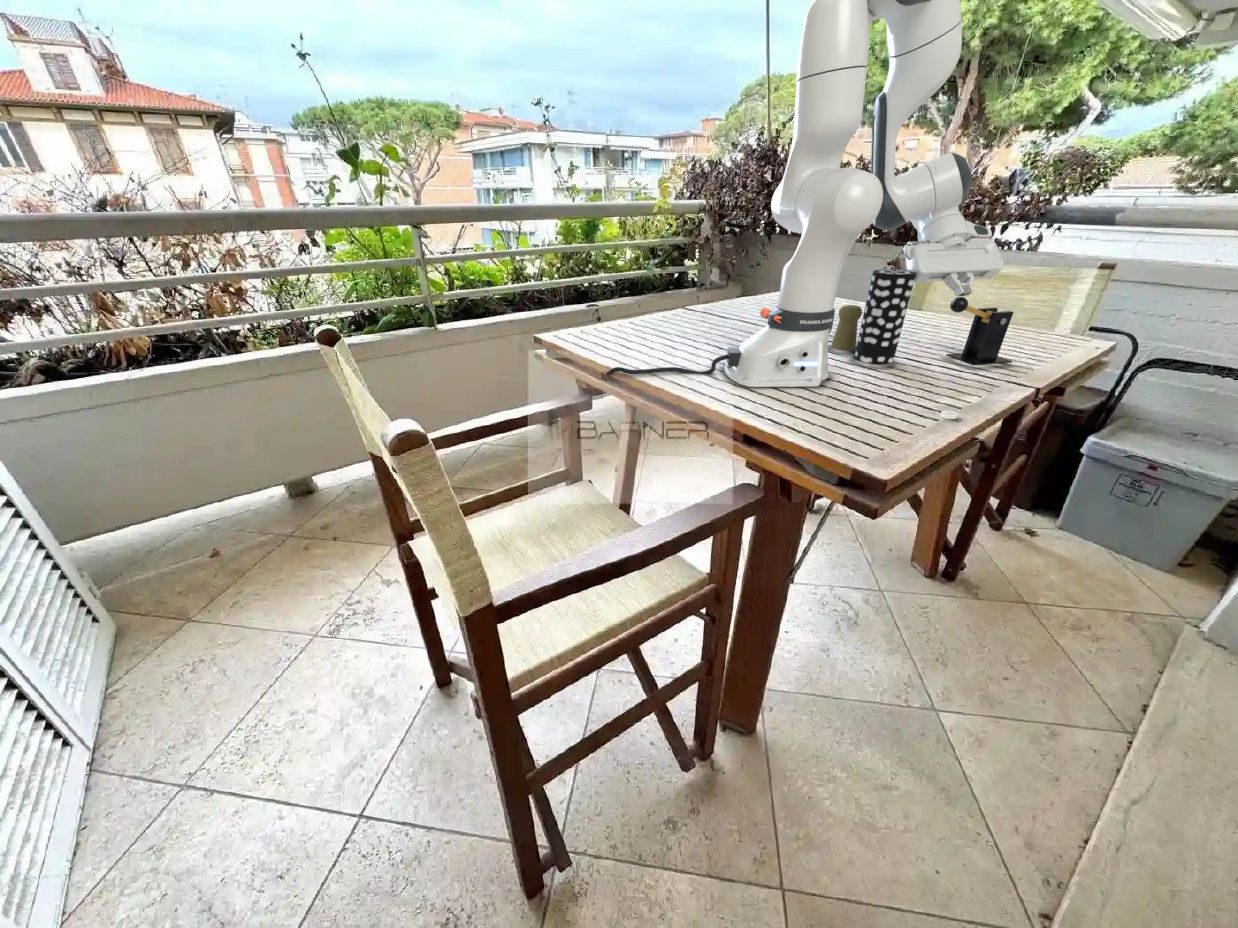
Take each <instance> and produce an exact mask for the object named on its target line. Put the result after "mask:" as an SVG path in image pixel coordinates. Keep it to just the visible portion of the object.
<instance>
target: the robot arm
mask: <svg viewBox="0 0 1238 928" xmlns="http://www.w3.org/2000/svg"><path fill="white" fill-rule="evenodd" d="M881 19H883V20H884V22H885V23H886V44H887V53H888V71H887V72H888V73H887V78H886V81H885V84H884V86H883V90H882V91H881V92H880V93H879V94H878V96H876V98H875V101H874V106H873V113H872V122H871V123H872V127H871V153H870V154H871V155H870V156H871V157H870V159H871V160H870V172H869V171H866V170H864V169H861V168H860V169H859V168H855V167H841V165H842V160H843V158H844V154H845V152H846V149H847V146H848V144H849V143H850V140H851V139H852V138H853V137H854V135H855V134H856V133H857V131H858V130H859V128H860V126H861V123H862V120H863V112H864V103H865V91H866V81H867V74H868V64H869V63H868V62H869V46H870V45H869V43H870V28H871V26H872V24H873V21H874V22H875V21H878V20H881ZM962 25H963V24H962V9H961V1H960V0H812V2H811V4H810V5H809V7H808V8H807V11H806V13H805V17H804V21H803V26H802V30H801V31H802V32H801V38H800V44H799V51H798V60H797V71H796V85H795V86H796V88H795V105H794V107H795V109H794V124H793V125H794V126H793V135H792V141H791V147H790V150H789V155H788V158H787V162H786V166H785V170H784V173H783V176H782V179H781V181H780V183H779V185H778V186H777V187H776V189H775V190H774V193H773V195H772V199H771V203H770V204H771V205H770V206H771V207H770V209H771V214H772V217H773V219H774V221H775V222H776V223H777V224H778V225H779V226H781V227H782V228H784V229H785V230H788V231H789V232H791V233H796V234H797V233H798V234H801V235H800V239H799V241H798V245H797V247H796V249H795V251H794V253H793V255H792V257H791V258H790V259H789V260H788V261H787V262H786V263H785V265H784V266H783V268H782V271H781V278H780V279H781V280H780V285H779V293H778V301H777V305H776V306H775V308H774V309H772V310H771V309H769V308H767V307H762V308H761V310H759V316H760V317H761V318H763V319H766V320H767V324H765V326H763V327H762V328H760V330H758V331H756V333H754V334H753V335H751V336H750V337H749V338H747V339H745V340H744V341H743V342H741V344H740V345H739V347H727V351H726V354H724V355H721V356H718V357H716V358H714V359H713V360H712V362H711V367H710V369H708V370H704V371H695V370H692V369H687V368H683V367H678V366H677V367H676V366H667V367H655V368H644V369H631V368H626V367H621V366H620V367H619V366H616V367H615V366H614V367H613V368H610V369H609V370H608V371H607V373H606V375H607V376H611V375H612V374H614V373H617V372H620V373H624V374H627V375H645V374H654V373H655V374H656V373H668V372H669V373H670V372H673V373H674V372H676V373H682V374H691V375H692V374H693V375H711V374H713V373H714V372H715V371H716V368H717V367H716V366H717V364H718V363H719V362H721V361H725V360H726V364H725V366H724V370H723V371H724V374H725V375H726V376H727V377H728V378H729V379H730V380H731V381H733V382H734V383H736V384H739V385H741V386H745V387H749V388H786V387H787V388H789V387H790V388H792V387H793V388H796V387H797V388H799V387H804V388H805V387H807V388H808V387H810V388H811V387H819V386H820V385H821V383H822V382H823V381H825V380H826V379H828V378H829V376H830V373H829V363H828V362H829V360H828V356H829V354H828V353H829V342H830V341H829V340H830V334H831V332H832V329H833V325H834V321H835V320H834V319H835V313H836V309H835V308H834V307H835V301H836V297H837V292H838V287H839V283H840V278H841V274H842V270H843V268H844V265H845V262H846V260H847V258H848V256H849V254H850V251H851V250H852V248H853V246H854V244H855V242H856V241H857V239H858V238H859V236H860V235H861V234H862V233H864V231H865V230H867V229H868V228H869V227H870V226H871V225H872V226H873V227H875V228H877V229H879V230H882V231H888V232H891V231H894V230H895V229H897V228H899V227H902V226H904V225H906V224H907V223H909V222H911V224H912V226H913V228H914V229H916V231H917V241H915V240H913V241H912V240H911V241H908V242H907V243H906V244H904V246H903V254H904V256H905V266H906V267H905V268H906V270H907V271H911V272H915V273H916V277H915V281H914V283H929V282H944V284H945V285H946V286H947V287H948V288H949V289H950V290H951V291H952V292H953V294H954V296H955V297H969V296H970V295H972V294H973V293H974V287H973V283H974V280H983V279H984V280H985V279H992V278H993V277H994V276H996V275H997V274H998V273H999V272H1001V271H1002V270H1003V269H1004V265H1005V263H1004V259H1003V256H1002V254H1001V251H1000V250H999V247H998V245H997V243H996V242H995V241H994V240H993V239H991V237H992V236H993V232H992V230H991V229H990V228H989V227H987V226H983V225H979V224H976V223H974V222H971V221H969V220H966V219H965V217H964V215H963V214H962V213H961V212H960V209H959V206H960V205H962V204H963V203H964V201H965V200H966V198H967V196H968V194H969V192H970V191H971V189H972V187H973V180H974V179H973V174H972V171H971V168H970V166H969V165H970V164H969V162H968V161H967V158H966V157H964V156H963V155H961V154H960V153H959V154H958V153H956V152H949V153H946V154H943V155H941V156H938V157H935V158H934V159H932V160H930V161H926V162H925V163H923V164H922V165H919V166H917V167H914V168H912V169H910V170H908V171H905V172H903V173H901V174H899V175H895V169H896V168H895V166H896V148H897V147H896V146H897V138H898V134H899V132H900V130H901V128H902V127H903V125H904V124H905V123H906V121H907V120H908V119H909V118H910V117H911V116H912V115H913V114H914V113H915V112H916V111H917V110H919V108H920V107H921V106H922V105H923V104H924V103H926V102H927V101H928V100H929V99H930V98H931V97H932V96H934V95H935V94H936V93H937V92H938V91H939V90H940V89H941V87H943V85H944V84H945V83H946V82H947V81H948V79H949V78H950V77H951V75H952V74H953V72H954V70H955V69H956V67H957V65H958V62H959V60H960V59H961V54H962V45H963V26H962Z"/></svg>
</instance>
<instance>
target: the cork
mask: <svg viewBox="0 0 1238 928" xmlns="http://www.w3.org/2000/svg"><path fill="white" fill-rule="evenodd" d="M862 314H863V310H862V307H861V306H858V305H855V304H845V305H843V306H841V307H840V308H839V310H838V318H839V320H838V322H837V323H838V324H837V327H836V330H835V333H834V335H833V338H832V341H831V344H830V347H831V348H832V349H835V350H840V351H852V350H856V346H857V339H858V338H857V336H858V326H859V325H858V323H859V320H860V319H861V317H862V316H863V315H862Z"/></svg>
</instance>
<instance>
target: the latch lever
mask: <svg viewBox="0 0 1238 928" xmlns="http://www.w3.org/2000/svg"><path fill="white" fill-rule="evenodd" d="M949 309H950V310H951V311H952V312H953V313H957V314H958V313H963V312H964V311H965V312H968V313H970V314H973V315H974V316H975V315H977V316H980V317H982V319H981V321H982V322H984V323H987V324H988V322H989V319H990V316H991V314H992V311H987V312H986V313H985V312H983V311H980V310H978V308H975V307H973V306H971V305H969V301H968V299H967V298H966V297H965V296H957V297H955V298H954V299H953V300H952V301H951V302H950V304H949Z"/></svg>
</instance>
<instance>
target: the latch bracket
mask: <svg viewBox="0 0 1238 928" xmlns="http://www.w3.org/2000/svg"><path fill="white" fill-rule="evenodd" d="M977 309H978V310H980V311H983V312H985V313H986V312H987V311H992V314H991V316H990V319H989V322H988V324H987V323H984V322H982V321H981V319H982V317H980V316H977V315H975V314H974V317H973V320H972V323H971V326H970V329H969V331H968V335H967V337H966V338H967V339H966V342H965V345H964V347H963V350H962V352H957V353H955V352H954V353H946V354H945V356H947V357H949V358H952V359H954V360H957V361H960V362H961V363H965V364H968V365H970V366H985V365H995V364H996V365H997V364H1008V363H1010V364H1011V363H1013V360H1010V359H1008V358H1005V357H1002V356H999V353H1000V350H1001V348H1002V345H1003V342H1004V340H1005V337H1006V334H1007V332H1008V329H1009V326H1010V323H1011V321H1012V317H1013V315H1014V311H1012V310H1007V311H998V310H999V308H998V307H981V308H979V307H978V308H977Z"/></svg>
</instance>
